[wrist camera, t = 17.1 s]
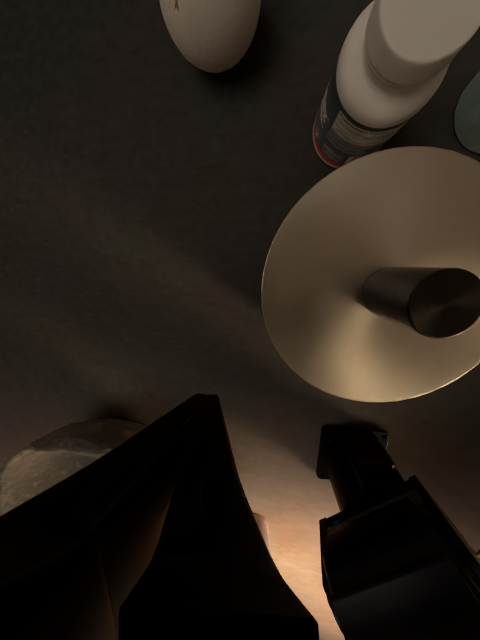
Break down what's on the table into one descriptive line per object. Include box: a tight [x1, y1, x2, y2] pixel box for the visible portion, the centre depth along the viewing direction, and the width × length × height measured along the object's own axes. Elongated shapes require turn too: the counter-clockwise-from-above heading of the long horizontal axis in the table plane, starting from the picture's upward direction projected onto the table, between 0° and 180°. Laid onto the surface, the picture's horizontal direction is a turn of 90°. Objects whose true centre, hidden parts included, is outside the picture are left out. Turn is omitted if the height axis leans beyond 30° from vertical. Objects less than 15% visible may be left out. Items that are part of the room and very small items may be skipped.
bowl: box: [0, 418, 147, 516], centre depth 22 cm, size 18×18×8 cm
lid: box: [261, 146, 480, 402], centre depth 9 cm, size 12×12×5 cm
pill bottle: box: [313, 0, 480, 169], centre depth 12 cm, size 5×5×9 cm
